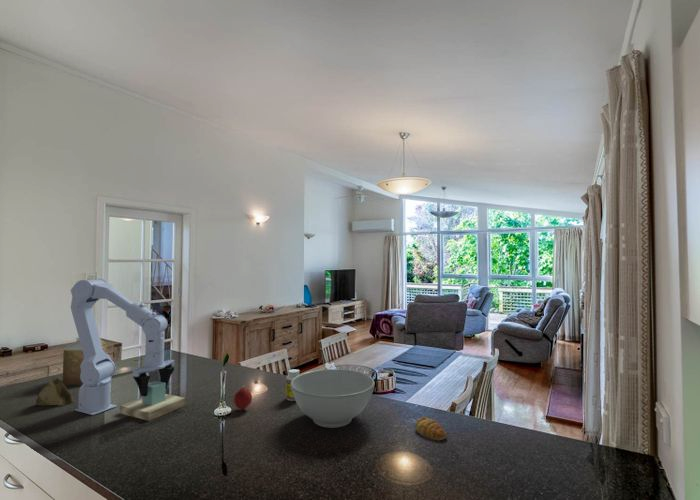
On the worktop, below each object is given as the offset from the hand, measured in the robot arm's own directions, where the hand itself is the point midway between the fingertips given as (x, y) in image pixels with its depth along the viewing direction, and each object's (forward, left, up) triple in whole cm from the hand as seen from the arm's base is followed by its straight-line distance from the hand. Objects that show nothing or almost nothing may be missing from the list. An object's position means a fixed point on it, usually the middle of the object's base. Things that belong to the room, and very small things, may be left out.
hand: (153, 392), depth 125 cm
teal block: (0, 0, -3) cm, 3 cm away
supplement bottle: (+38, +28, -6) cm, 48 cm away
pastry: (+90, +22, -6) cm, 92 cm away
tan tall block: (-53, +9, -6) cm, 54 cm away
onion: (+28, +12, -6) cm, 31 cm away
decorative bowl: (+59, +18, -6) cm, 62 cm away
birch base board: (0, 0, -6) cm, 6 cm away
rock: (-36, -11, -6) cm, 38 cm away
